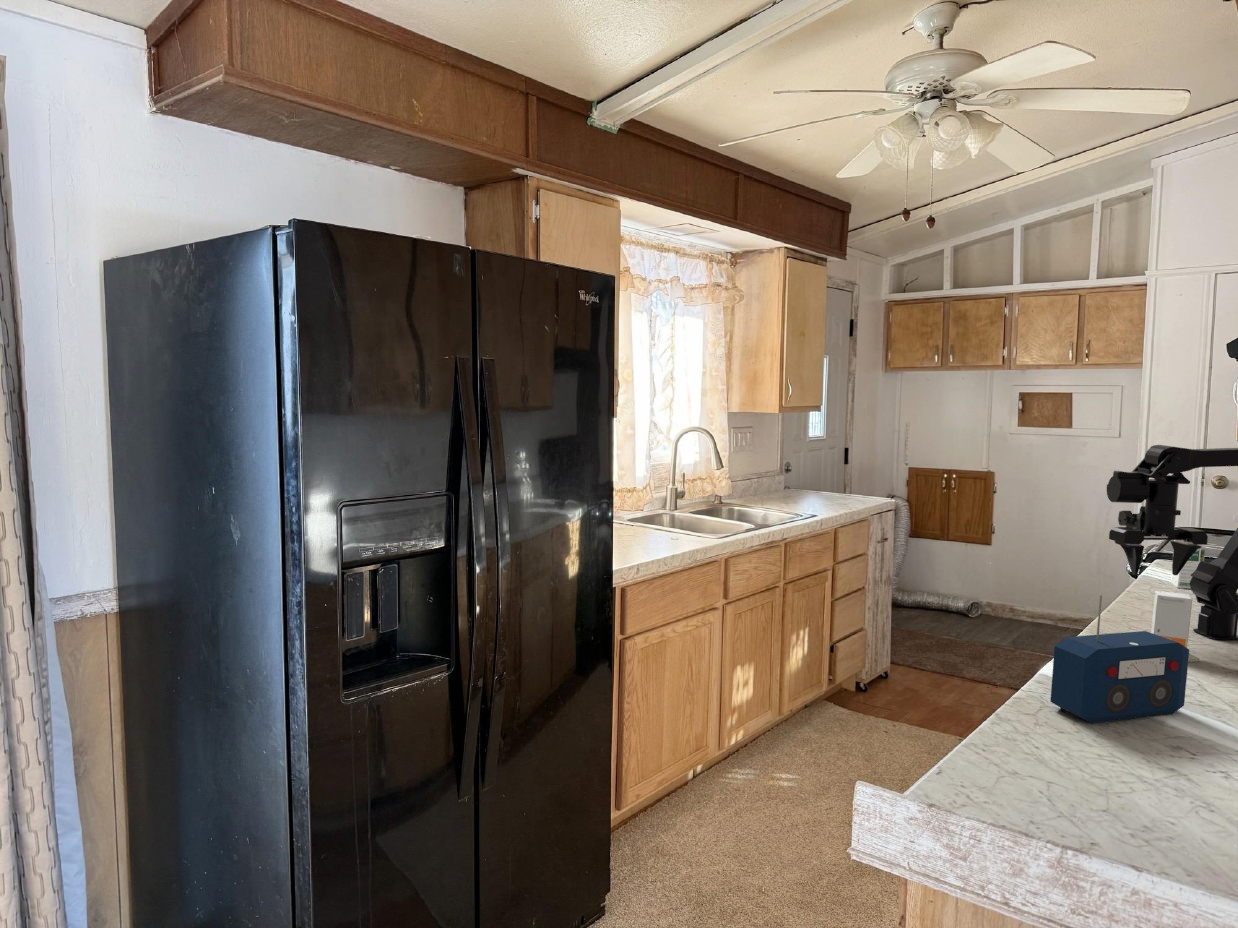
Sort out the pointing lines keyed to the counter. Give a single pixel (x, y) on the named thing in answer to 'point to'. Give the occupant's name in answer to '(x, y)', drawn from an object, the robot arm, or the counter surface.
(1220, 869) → the counter surface
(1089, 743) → the counter surface
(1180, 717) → the counter surface
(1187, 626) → the skincare box
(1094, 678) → the radio
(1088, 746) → the counter surface
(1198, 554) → the syrup box
